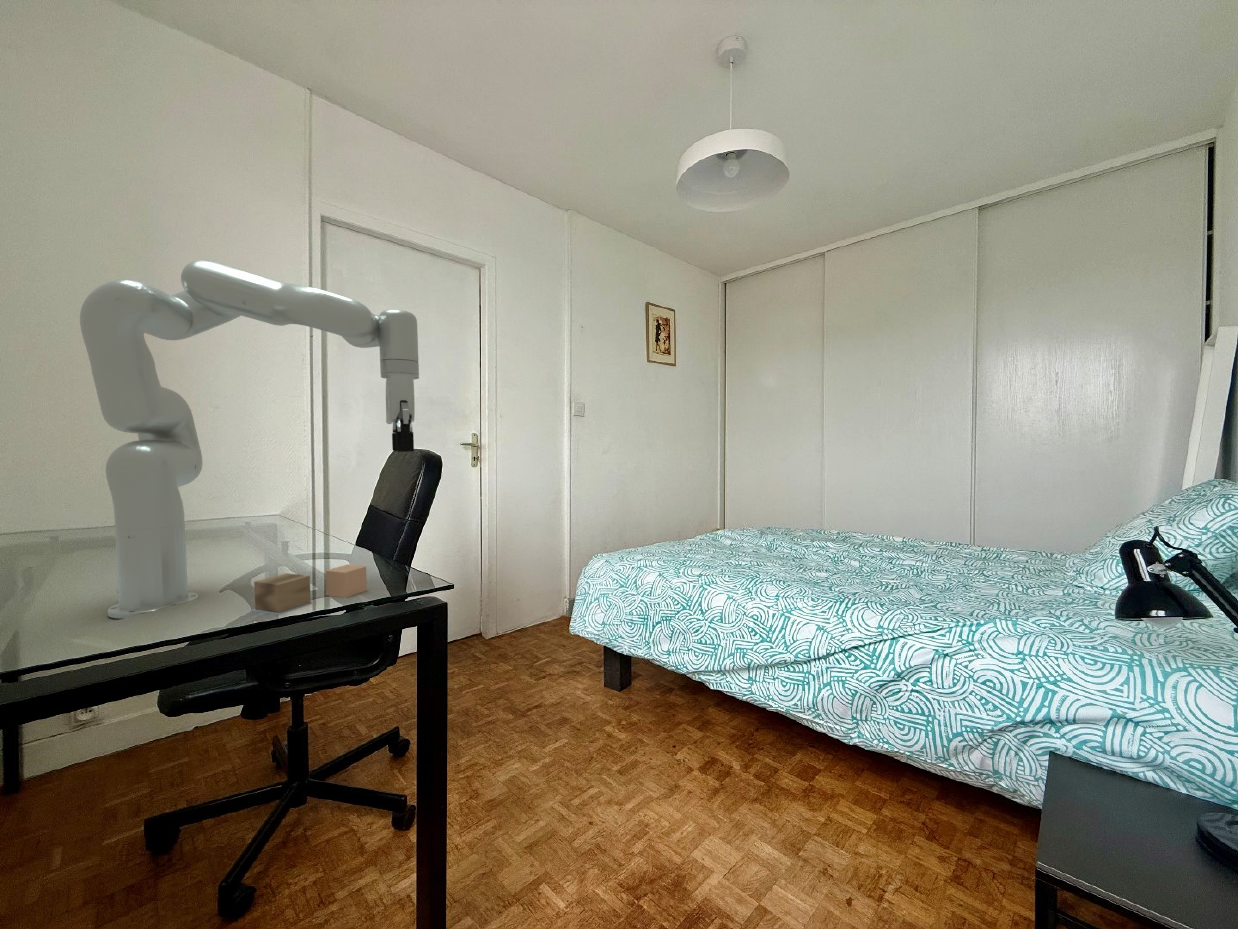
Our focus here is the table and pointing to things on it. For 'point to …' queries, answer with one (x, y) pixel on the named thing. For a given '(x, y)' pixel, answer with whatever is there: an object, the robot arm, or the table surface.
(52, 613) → the table surface
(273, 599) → the walnut block
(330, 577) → the terracotta block
